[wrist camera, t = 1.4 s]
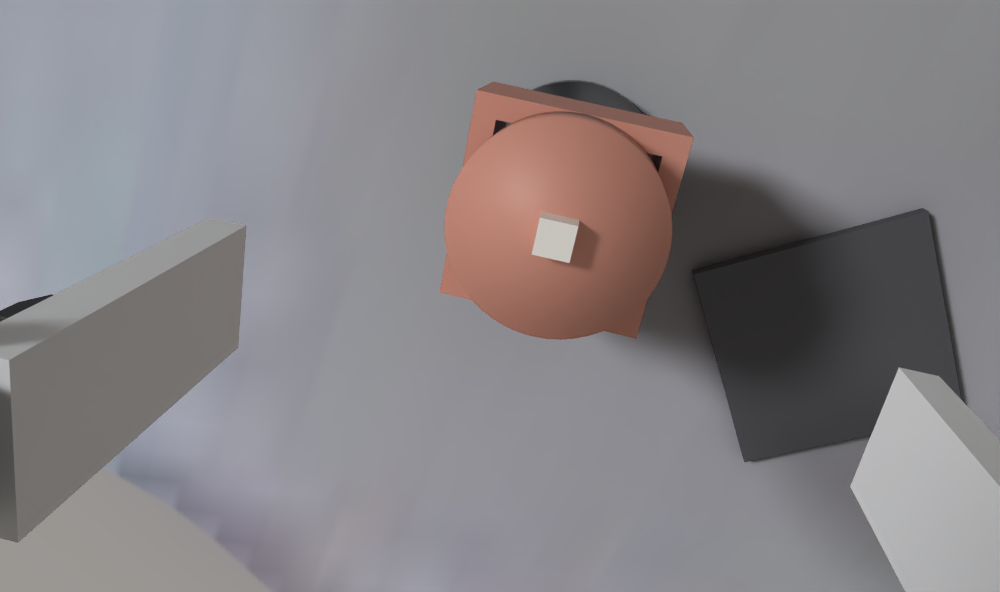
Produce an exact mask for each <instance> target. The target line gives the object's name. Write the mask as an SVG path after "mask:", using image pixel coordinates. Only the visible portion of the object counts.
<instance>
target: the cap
mask: <svg viewBox="0 0 1000 592" xmlns="http://www.w3.org/2000/svg"><path fill="white" fill-rule="evenodd" d="M507 122H509V123H511V124H510V125H508V126H506V124H507ZM693 139H694V137H693V136H692V135H691V133H690V132H689V131H688V130H687V128H686V127H685V126H684V125H683V123H680V122H675V121H671V120H666V119H662V118H657V117H652V116H648V115H643V114H639V113H634V112H630V111H625V110H620V109H616V108H611V107H607V106H602V105H598V104H593V103H588V102H584V101H579V100H575V99H570V98H566V97H561V96H556V95H552V94H547V93H543V92H538V91H533V90H529V89H524V88H520V87H515V86H511V85H506V84H501V83H497V82H492V83H490V84H488V85H486V86H484V87H482V88H480V89H478V90H477V91H476V97H475V102H474V108H473V113H472V119H471V124H470V130H469V135H468V140H467V146H466V151H465V157H464V162H463V168H462V170H461V172H460V173H459V175H458V177H457V179H456V180H455V183H454V185H453V188H452V190H451V193H450V195H449V199H448V203H447V207H446V214H445V241H446V248H447V255H446V261H445V266H444V272H443V277H442V283H441V288H440V292H441V293H445V294H449V295H453V296H458V297H462V298H466V299H470V300H472V301H473V302H474V303H475V304H476V305H477V306H478V307H479V308H480V309H481V310H482V311H484V312H485V313H486V314H488V315H489V316H490V317H491V318H493V319H494V320H496V321H497V322H499V323H501V324H503V325H504V326H506V327H508V328H510V329H513V330H515V331H517V332H520V333H523V334H527V335H530V336H534V337H540V338H545V339H573V338H579V337H585V336H589V335H592V334H595V333H598V332H602V331H607V332H611V333H616V334H620V335H624V336H628V337H633V338H637V335H638V331H639V328H640V324H641V321H642V317H643V314H644V310H645V307H646V303H647V300H648V297H649V296H650V295H651V293H652V292H653V290H654V289H655V287H656V286H657V284H658V282H659V280H660V278H661V277H662V275H663V273H664V270H665V267H666V264H667V262H668V259H669V254H670V249H671V244H672V231H673V230H672V212H673V209H674V205H675V202H676V198H677V195H678V191H679V188H680V184H681V181H682V177H683V174H684V170H685V167H686V163H687V160H688V156H689V153H690V149H691V146H692V142H693ZM647 153H649V154H651V157H649V156H648V155H647Z"/></svg>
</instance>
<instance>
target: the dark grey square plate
mask: <svg viewBox="0 0 1000 592" xmlns="http://www.w3.org/2000/svg"><path fill="white" fill-rule="evenodd" d="M693 275H694V279H695V282H696V286H697V290H698V293H699V297H700V301H701V304H702V308H703V312H704V316H705V319H706V323H707V327H708V330H709V334H710V338H711V341H712V345H713V349H714V352H715V356H716V360H717V363H718V367H719V371H720V375H721V378H722V382H723V386H724V389H725V393H726V397H727V400H728V404H729V408H730V411H731V415H732V419H733V422H734V426H735V430H736V433H737V437H738V441H739V445H740V448H741V452H742V456H743V459H744V462H748V461H752V460H757V459H762V458H766V457H771V456H776V455H781V454H785V453H790V452H795V451H799V450H804V449H809V448H813V447H818V446H823V445H828V444H832V443H837V442H842V441H846V440H851V439H856V438H860V437H865V436H870V435H871V434H872V432H873V430H874V427H875V425H876V422H877V420H878V417H879V415H880V412H881V410H882V408H883V405H884V403H885V400H886V398H887V395H888V393H889V390H890V388H891V385H892V383H893V381H894V378H895V376H896V373H897V371H898V368H899V367H900V368H904V369H909V370H913V371H918V372H923V373H927V374H932V375H936V376H939V377H940V378H941V379H942V380H943V381H944V382H945V383H946V384H947V385H948V386H949V387H950V388H951V389H952V390H953V391H954V393H955V394H956V395H957V396H958V397H959V398H960V399H961V395H960V389H959V383H958V378H957V372H956V366H955V360H954V355H953V349H952V343H951V338H950V332H949V326H948V321H947V315H946V309H945V304H944V298H943V292H942V287H941V281H940V275H939V269H938V264H937V258H936V252H935V247H934V241H933V235H932V230H931V224H930V218H929V213H928V211H927V210H925V209H923V208H922V209H918V210H915V211H911V212H907V213H904V214H900V215H896V216H892V217H889V218H885V219H881V220H878V221H874V222H870V223H867V224H863V225H859V226H856V227H852V228H848V229H844V230H841V231H837V232H833V233H830V234H826V235H822V236H819V237H815V238H811V239H807V240H804V241H800V242H796V243H793V244H789V245H785V246H782V247H778V248H774V249H771V250H767V251H763V252H759V253H756V254H752V255H748V256H745V257H741V258H737V259H734V260H730V261H726V262H723V263H719V264H715V265H711V266H708V267H704V268H700V269H697V270H693Z"/></svg>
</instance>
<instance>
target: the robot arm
mask: <svg viewBox="0 0 1000 592" xmlns="http://www.w3.org/2000/svg"><path fill="white" fill-rule="evenodd" d="M245 237H246V225H242V224H238V223H233V222H228V221H224V220H219V219H215V218H208V219H206V220H204V221H202V222H200V223H198V224H196V225H194V226H192V227H190V228H188V229H186V230H184V231H182V232H180V233H178V234H176V235H174V236H172V237H170V238H168V239H166V240H164V241H162V242H160V243H158V244H156V245H154V246H152V247H150V248H148V249H146V250H144V251H142V252H140V253H138V254H136V255H134V256H132V257H130V258H128V259H126V260H124V261H122V262H120V263H118V264H116V265H114V266H112V267H110V268H108V269H106V270H104V271H102V272H100V273H97V274H95V275H93V276H91V277H89V278H87V279H85V280H83V281H81V282H79V283H77V284H75V285H73V286H71V287H69V288H67V289H65V290H63V291H61V292H59V293H57V294H55V295H48V296H43V297H39V298H35V299H31V300H26V301H22V302H18V303H16V304H14V305H12V306H9V307H7V308H5V309H3V310H1V311H0V538H2V539H6V540H10V541H14V542H19V541H20V540H21V539H23V538H24V537H25V536H26V535H27V534H28V533H29V532H30V531H32V530H33V529H34V528H35V527H36V526H37V525H38V524H40V523H41V522H42V521H43V520H44V519H45V518H46V517H47V516H49V515H50V514H51V513H52V512H53V511H54V510H55V509H56V508H58V507H59V506H60V505H61V504H62V503H63V502H64V501H66V500H67V499H68V498H69V497H70V496H71V495H72V494H73V493H75V492H76V491H77V490H78V489H79V488H80V487H81V486H82V485H84V484H85V483H86V482H87V481H88V480H89V479H90V478H91V477H92V476H94V475H95V474H96V473H97V472H98V471H99V470H100V469H102V468H103V467H104V466H105V465H106V464H107V463H108V462H109V461H111V460H112V459H113V458H114V457H115V456H116V455H117V454H119V453H120V452H121V451H122V450H123V449H124V448H125V447H126V446H128V445H129V444H130V443H131V442H132V441H133V440H134V439H135V438H137V437H138V436H139V435H140V434H141V433H142V432H143V431H144V430H146V429H147V428H148V427H149V426H150V425H151V424H152V423H153V422H155V421H156V420H157V419H158V418H159V417H160V416H161V415H162V414H164V413H165V412H166V411H167V410H168V409H169V408H170V407H172V406H173V405H174V404H175V403H176V402H177V401H178V400H179V399H181V398H182V397H183V396H184V395H185V394H186V393H187V392H188V391H190V390H191V389H192V388H193V387H194V386H195V385H196V384H197V383H199V382H200V381H201V380H202V379H203V378H204V377H205V376H206V375H208V374H209V373H210V372H211V371H212V370H213V369H214V368H215V367H217V366H218V365H219V364H220V363H221V362H222V361H223V360H225V359H226V358H227V357H228V356H229V355H230V354H231V353H232V352H234V351H235V350H236V349H237V348H238V341H239V326H240V312H241V297H242V282H243V267H244V252H245ZM850 487H851V489H852V491H853V493H854V495H855V497H856V499H857V500H858V502H859V504H860V506H861V508H862V510H863V512H864V514H865V516H866V518H867V520H868V521H869V523H870V525H871V527H872V529H873V531H874V533H875V535H876V537H877V539H878V541H879V542H880V544H881V546H882V548H883V550H884V552H885V554H886V556H887V558H888V560H889V562H890V563H891V565H892V567H893V569H894V571H895V573H896V575H897V577H898V579H899V581H900V583H901V584H902V586H903V588H904V590H905V592H1000V441H999V439H998V438H997V437H996V436H995V435H994V434H993V433H992V432H991V431H990V430H989V429H988V428H987V427H986V426H985V425H984V423H983V422H982V421H981V420H980V419H979V418H978V417H977V416H976V415H975V414H974V413H973V412H972V411H971V410H970V409H969V407H968V406H967V405H966V404H965V403H964V402H963V401H962V400H961V399H960V398H959V397H958V396H957V395H956V394H955V393H954V391H953V390H952V389H951V388H950V387H949V386H948V385H947V384H946V383H945V382H944V381H943V380H942V379H941V378H940V377H939V376H936V375H932V374H927V373H923V372H918V371H913V370H909V369H904V368H900V367H899V368H898V371H897V373H896V376H895V378H894V381H893V383H892V385H891V388H890V390H889V393H888V395H887V398H886V400H885V403H884V405H883V408H882V410H881V412H880V415H879V417H878V420H877V422H876V425H875V427H874V430H873V432H872V434H871V437H870V439H869V442H868V444H867V447H866V449H865V452H864V454H863V457H862V459H861V461H860V464H859V466H858V469H857V471H856V474H855V476H854V479H853V481H852V483H851V486H850Z"/></svg>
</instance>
